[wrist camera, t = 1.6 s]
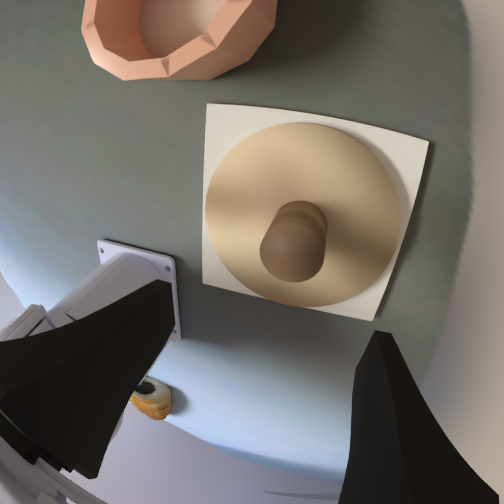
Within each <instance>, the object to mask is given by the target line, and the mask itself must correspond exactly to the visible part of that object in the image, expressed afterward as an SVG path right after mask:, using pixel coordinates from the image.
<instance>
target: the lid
mask: <svg viewBox="0 0 504 504" xmlns="http://www.w3.org/2000/svg"><path fill="white" fill-rule="evenodd" d="M205 218H206V225H207V231H208V234H209V237H210V240H211V243H212V245H213V248H214V250H215V252H216V254H217V255H218V257H219V259H220V260H221V262H222V263H223V265H224V266H225V267H226V268H227V270H228V271H229V272H230V273H231V274H232V275H233V276H234V277H235V278H236V279H237V280H238V281H239V282H241V283H242V284H243V285H244V286H245V287H247V288H248V289H250V290H251V291H253V292H255V293H256V294H258V295H260V296H262V297H264V298H267V299H269V300H272V301H274V302H277V303H281V304H285V305H290V306H296V307H322V306H328V305H333V304H336V303H340V302H343V301H345V300H347V299H350V298H352V297H354V296H356V295H358V294H359V293H361V292H363V291H364V290H365V289H367V288H368V287H369V286H371V285H372V284H373V283H374V282H375V281H376V280H377V279H378V278H379V277H380V276H381V274H382V273H383V272H384V271H385V269H386V268H387V266H388V265H389V263H390V261H391V259H392V258H393V255H394V253H395V250H396V248H397V244H398V240H399V236H400V228H401V210H400V205H399V200H398V196H397V193H396V190H395V187H394V184H393V182H392V180H391V179H390V177H389V175H388V173H387V171H386V170H385V168H384V167H383V166H382V164H381V163H380V161H379V160H378V159H377V158H376V156H375V155H374V154H373V153H372V152H371V151H370V150H369V149H368V148H367V147H365V146H364V145H363V144H361V143H360V142H359V141H358V140H356V139H355V138H353V137H351V136H349V135H348V134H346V133H344V132H342V131H339V130H337V129H334V128H332V127H328V126H324V125H320V124H315V123H305V122H296V123H285V124H280V125H275V126H272V127H269V128H266V129H263V130H260V131H258V132H256V133H254V134H252V135H250V136H248V137H246V138H245V139H244V140H242V141H241V142H239V143H238V144H237V145H235V146H234V147H233V148H232V149H231V150H230V151H229V152H228V153H227V154H226V155H225V157H224V158H223V159H222V161H221V162H220V163H219V165H218V166H217V168H216V170H215V172H214V174H213V176H212V178H211V181H210V184H209V186H208V191H207V195H206V203H205Z"/></svg>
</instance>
